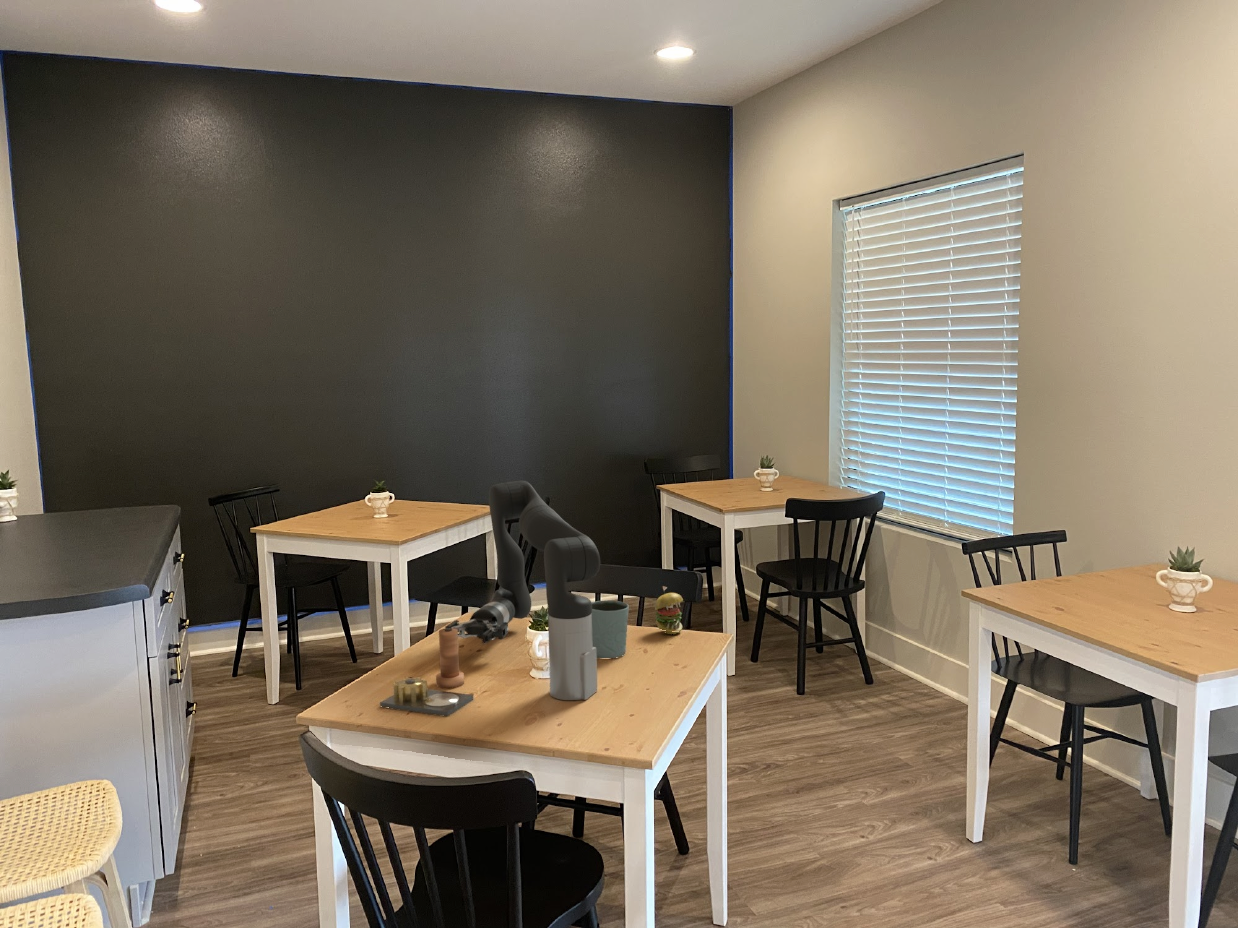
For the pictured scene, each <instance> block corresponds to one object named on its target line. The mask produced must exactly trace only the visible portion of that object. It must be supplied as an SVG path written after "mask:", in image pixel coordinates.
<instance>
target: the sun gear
mask: <svg viewBox="0 0 1238 928" xmlns="http://www.w3.org/2000/svg"><path fill="white" fill-rule="evenodd" d="M394 682H395V683H394V684H393V685H392V686H393V688H392V689H393V695H394V700H396V699H399V702H404V701H411V702H415V701H416V700H418V699H424V698H426V695H428V694H427V689H428V680H427V679H422V677H418V676H417V677H415V678H414V677H413V678H412V677H411V678H410V677H404V679H402V680H401V679H398V680H395V681H394Z"/></svg>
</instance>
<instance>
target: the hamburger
mask: <svg viewBox="0 0 1238 928" xmlns="http://www.w3.org/2000/svg"><path fill="white" fill-rule="evenodd" d="M662 589H663V592H664V594H662V595H660V596H659V597H658V598H657V599H656V600H655V602H654V609H655V614H656V617H655V619H656V626H657V628H658V630H660V629H662V630H666V631H661V632H662V633H664V632H666V633H665V634H667V635H672V634H673V635H677V634H676V633H678V634H679V633H681V631H682V629H683V624H682V623H681V619H682V614H683V612H681V611H680V608H681V603H683V602H684V599H683V597H682V595H680V593H679V594H678V593H676V592H668V593H665V590H666V589H668V587H667V586H664V585H662ZM674 606H676V607H674ZM672 631H679V632H672Z"/></svg>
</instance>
